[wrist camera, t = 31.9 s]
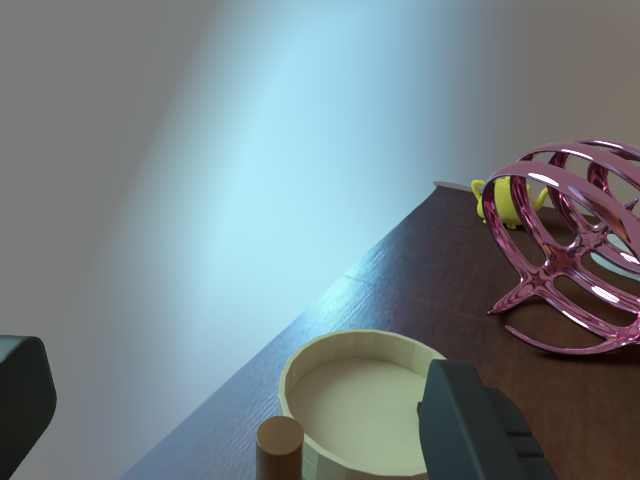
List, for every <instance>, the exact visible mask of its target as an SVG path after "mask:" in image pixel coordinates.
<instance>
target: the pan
mask: <svg viewBox="0 0 640 480" xmlns="http://www.w3.org/2000/svg"><path fill="white" fill-rule="evenodd" d="M433 359H446V358H445V357H443V356H442V355H441V354H439V353H438V352H437V351H435V350H433V349H432V348H430V347H428V346H426V345H424V344H422V343H420V342H418V341H416V340H413V339H411V338H408V337H405V336H402V335H399V334H396V333H391V332H386V331H380V330H372V329H350V330H342V331H335V332H331V333H328V334H325V335H322V336H319V337H316V338H314V339H313V340H311V341H309V342H308V343H306V344H304V345H303V346H301V347H299V348H298V350H297V351H296V352H295V353H294V354H293V355H292V356H291V357H290V358H289V359H288V360H287V362H286V365H285V367H284V369H283V371H282V373H281V375H280V382H279V394H278V416H287V417H291V418H293V419H295V420H296V421H298V422H299V423H300V425H301V426H302V428H303V430H304V450H303V467H302V477H303V478H304V479H305V480H429V478H428V473H427V469H426V465H425V461H424V457H423V453H422V449H421V445H420V438H419V418H418V414H417V405H418V402H422V399H423V394H424V389H425V384H426V380H427V375H428V370H429V365H430V363H431V361H432V360H433Z"/></svg>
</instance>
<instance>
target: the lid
mask: <svg viewBox="0 0 640 480" xmlns="http://www.w3.org/2000/svg"><path fill="white" fill-rule="evenodd" d="M607 239H608V240H609V241H610V242H611V243H612V244H614V245H615V246H617V247H619V248H620V249H622V250H624V251H626V252H628V253H630V254H632V253H631V252H630V251H629V249H628V248H627V247H626V246H625V245H624V243H623V242H622V241H621V240H620V239H619V238H618V237H617V236H616V235H615V234H607ZM632 255H633V254H632ZM591 256H592V258H593V259H594V260H595V261H596V262H597V263H598V264H600V265H601V266H603V267H605V268H606V269H608V270H610V271H612V272H615V273H617V274H619V275H622V276H625V277H628V278H631V279H634V280H637V281H639V282H640V277H639V276H636V275H633V274H631V273H629V272H626V271H624V270H622V269H620V268H618V267H616V266H614V265H613V264H611V263H609V262H608V261H606V260H605V259H603V258H602V257H600V256H599V255H597V254H595V253H591Z"/></svg>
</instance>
